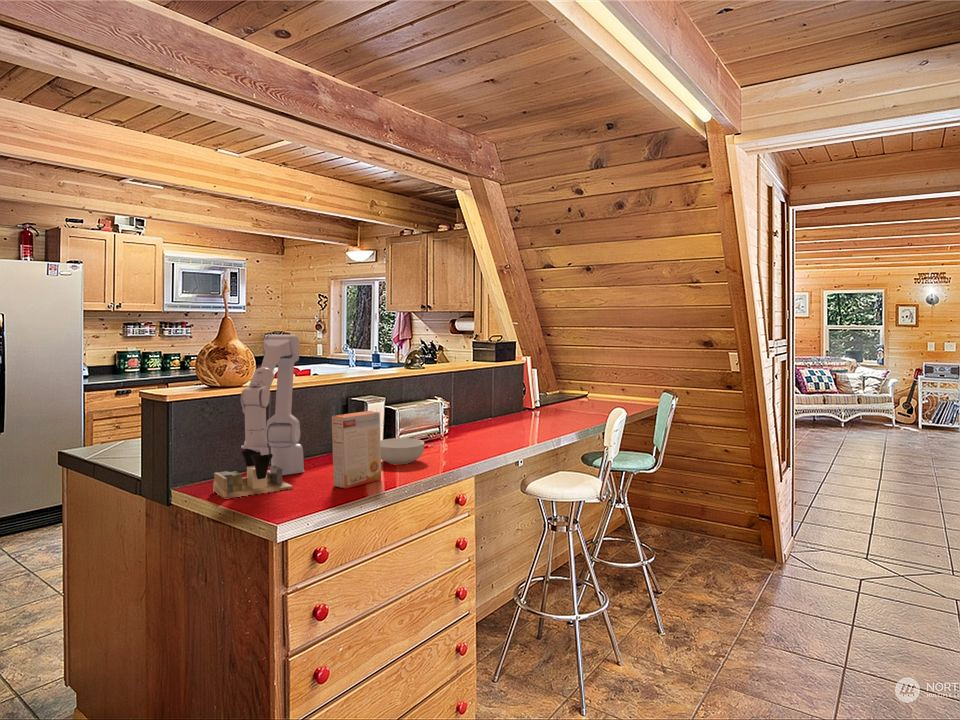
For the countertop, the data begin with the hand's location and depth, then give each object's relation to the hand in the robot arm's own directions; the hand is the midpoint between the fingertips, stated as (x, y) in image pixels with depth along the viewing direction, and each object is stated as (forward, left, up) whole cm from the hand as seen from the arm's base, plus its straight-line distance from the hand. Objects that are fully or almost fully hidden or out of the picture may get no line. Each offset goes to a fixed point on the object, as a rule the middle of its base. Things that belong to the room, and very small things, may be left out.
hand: (256, 476), depth 183 cm
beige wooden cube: (0, 0, -3) cm, 3 cm away
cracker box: (-26, +12, -4) cm, 29 cm away
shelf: (+1, +1, -4) cm, 4 cm away
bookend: (-6, 0, -3) cm, 6 cm away
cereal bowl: (-51, -5, -4) cm, 51 cm away
